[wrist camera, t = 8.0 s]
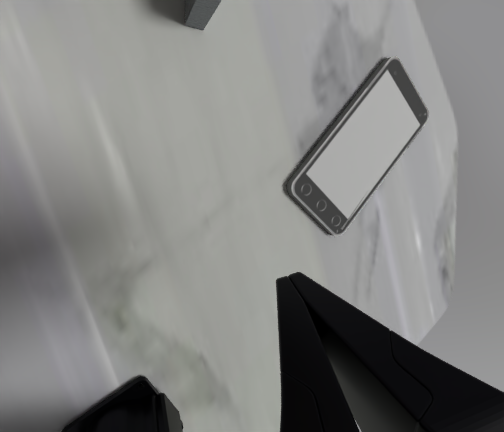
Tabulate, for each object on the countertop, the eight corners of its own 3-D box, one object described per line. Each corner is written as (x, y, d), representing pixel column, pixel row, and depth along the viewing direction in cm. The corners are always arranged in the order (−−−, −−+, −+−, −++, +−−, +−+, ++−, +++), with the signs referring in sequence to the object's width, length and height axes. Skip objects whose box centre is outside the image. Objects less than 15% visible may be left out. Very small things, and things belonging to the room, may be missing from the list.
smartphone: (287, 188, 23) (395, 51, 24) (280, 187, 24) (384, 55, 25) (338, 240, 26) (431, 116, 27) (331, 237, 27) (421, 117, 28)
